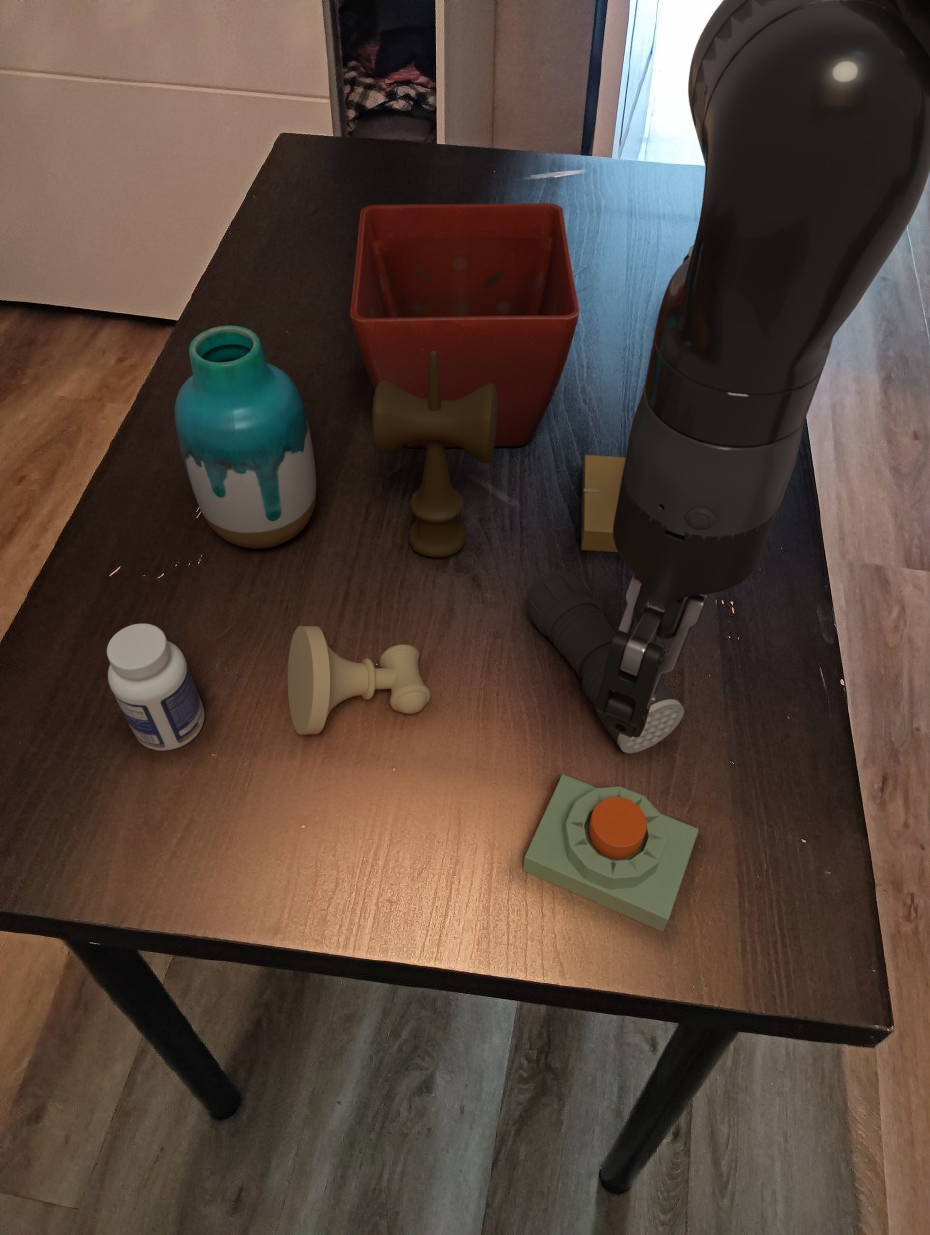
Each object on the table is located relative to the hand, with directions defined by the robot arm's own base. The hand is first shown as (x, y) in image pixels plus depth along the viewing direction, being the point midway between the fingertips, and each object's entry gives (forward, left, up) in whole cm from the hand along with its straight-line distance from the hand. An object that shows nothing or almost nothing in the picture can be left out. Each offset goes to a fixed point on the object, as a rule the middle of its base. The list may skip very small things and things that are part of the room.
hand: (649, 675), depth 56 cm
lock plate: (+8, -28, -14) cm, 32 cm away
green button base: (-1, +5, -14) cm, 15 cm away
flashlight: (+5, -9, -14) cm, 18 cm away
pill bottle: (+33, +9, -14) cm, 37 cm away
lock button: (-1, +5, -11) cm, 12 cm away
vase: (+38, -12, -14) cm, 42 cm away
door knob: (+21, +1, -14) cm, 25 cm away
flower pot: (+29, -35, -14) cm, 47 cm away
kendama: (+23, -17, -15) cm, 32 cm away
